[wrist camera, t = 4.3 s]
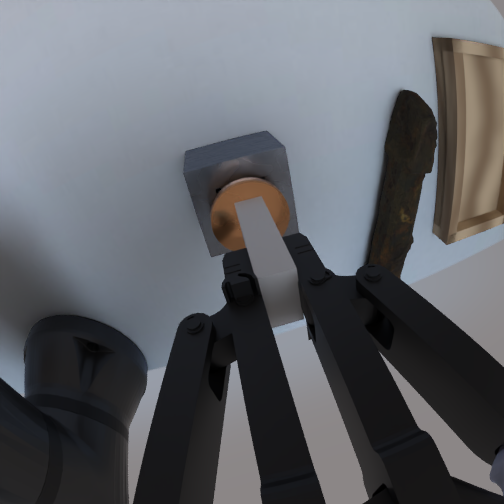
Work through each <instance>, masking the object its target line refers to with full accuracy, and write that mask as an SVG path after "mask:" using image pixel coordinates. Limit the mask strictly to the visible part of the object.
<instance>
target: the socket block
mask: <svg viewBox="0 0 504 504" xmlns="http://www.w3.org/2000/svg"><path fill="white" fill-rule="evenodd" d="M184 177H185V180H186V183H187V186H188V189H189V192H190V195H191V198H192V202H193V205H194V208H195V211H196V214H197V217H198V220H199V223H200V226H201V229H202V232H203V235H204V238H205V241H206V244H207V247H208V249H209V252H210V255H211V257H214V256H217V255H221V254H225V253H228V252H232V250H229V249H228V248H226V247H224V246H223V245H222V244H221V243H220V242H219V241H218V240H217V239H216V237H215V235H214V233H213V230H212V226H211V218H210V211H211V206H212V203H213V200H214V199H215V197H216V195H217V194H218V193H219V191H218V188H222V187H225V186H226V185H228V184H229V183H231V182H233V181H235V180H238V179H241V178H248V177H254V178H261V179H264V180H267V181H269V182H270V183H272V184H273V185H275V186H276V187H277V188H278V189H279V190H280V192H281V193H282V195H283V196H284V198H285V199H286V201H287V203H288V206H289V211H290V219H289V224H288V227H287V229H286V231H285V233H284V235H283V236H282V237H285V236H288V235H292V234H296V233H299V229H298V222H297V216H296V209H295V203H294V196H293V190H292V184H291V178H290V172H289V166H288V160H287V155H286V149H285V146H284V145H282V144H281V143H280V142H279V141H278V140H277V139H276V138H275V137H274V136H272V135H271V134H270V133H269V132H268V131H263V132H258V133H254V134H250V135H245V136H241V137H237V138H233V139H229V140H225V141H221V142H218V143H214V144H210V145H207V146H203V147H199V148H196V149H192V150H189V151H186V153H185V163H184Z"/></svg>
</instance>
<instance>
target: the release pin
mask: <svg viewBox="0 0 504 504" xmlns="http://www.w3.org/2000/svg"><path fill="white" fill-rule="evenodd" d="M259 196H262V198H263V200H264V202H265V204H266V206H267V208H268V210H269V212H270V214H271V216H272V218H273V220H274V222H275V224H276V226H277V228H278V230H279V233H280V235H281V237H282V236H283V235H284V233H285V231H286V229H287V227H288V224H289V219H290V211H289V206H288V203H287V201H286V199H285V198H284V196H283V195H282V193H281V192H280V190H279V189H278V188H277V187H276V186H275V185H273V184H272V183H270V182H269V181H267V180H264V179H261V178H254V177H248V178H241V179H238V180H235V181H233V182H231V183H229V184H228V185H226V186H225V187H222V189H221V190H220V191H219V193H218V194H217V195H216V197H215V199H214V200H213V203H212V206H211V211H210V218H211V226H212V230H213V233H214V235H215V237H216V239H217V240H218V241H219V242H220V243H221V244H222V245H223V246H224V247H226V248H228V249H229V250H232V251H236V250H239V249H243V248H246V246H245V243H244V239H243V235H242V231H241V227H240V224H239V220H238V216H237V212H236V208H235V205H234V203H236V202H240V201H244V200H248V199H251V198H255V197H259Z"/></svg>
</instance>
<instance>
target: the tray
mask: <svg viewBox="0 0 504 504" xmlns="http://www.w3.org/2000/svg"><path fill="white" fill-rule="evenodd" d="M432 42H433V49H434V58H435V67H436V78H437V92H438V115H439V155H438V179H437V194H436V205H435V216H434V225H433V233H434V234H435V235H436V236H437V237H438V238H439V239H441V240H442V241H443V242H444V243H445V244H446V245H448V244H451V243H454V242H456V241H459V240H462V239H464V238H467V237H470V236H472V235H475V234H478V233H480V232H483V231H485V230H488V229H491V228H493V227H496V226H498V225H501V224H503V223H504V48H501V47H497V46H492V45H488V44H483V43H478V42H472V41H466V40H460V39H453V38H436V37H432Z"/></svg>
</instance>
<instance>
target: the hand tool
mask: <svg viewBox="0 0 504 504" xmlns="http://www.w3.org/2000/svg"><path fill="white" fill-rule="evenodd" d="M436 126H437V122H436V120H435V117H434V115H433V112H432V110H431V108H430V107H429V106H428V105H427V104H426V103H425V102H424V100H423V99H422V98H421V97H420V96H419V95H418V94H417V93H415V92H412V91H409V90H403V91H402V92H401V93H400V95H399V96H398V99H397V102H396V105H395V109H394V111H393V114H392V119H391V122H390V128H389V132H388V136H387V139H386V143H385V152H386V153H387V156H388V163H387V171H386V177H385V181H384V187H383V192H382V196H381V199H380V208H379V215H378V220H377V225H376V230H375V232H374V238H373V241H372V249H371V253H370V258H369V263H368V264H377V265H381V266H383V267H385V268H386V269H388V270H389V271H390V272H392V273H393V274H394V275H395V276H397V277H398V278H399V279H400V275H401V272H402V269H403V265H404V261H405V258H406V255H407V253H408V251H409V250H410V248H411V244H412V243H413V236H412V232H413V227H414V223H415V218H416V214H417V209H418V204H419V200H420V194H421V189H422V182H423V179H424V177H425V174H426V173H431V172H432V167H433V163H434V152H435V148H436V146H437V144H436V140H437V129H436Z"/></svg>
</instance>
